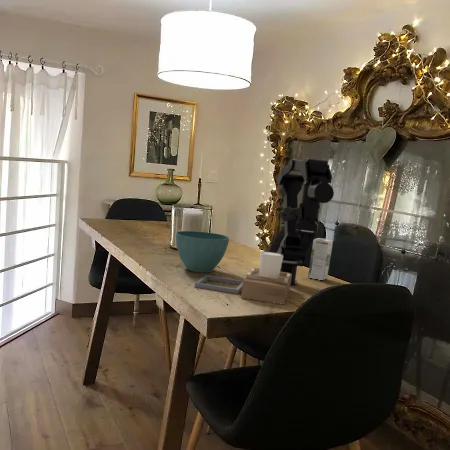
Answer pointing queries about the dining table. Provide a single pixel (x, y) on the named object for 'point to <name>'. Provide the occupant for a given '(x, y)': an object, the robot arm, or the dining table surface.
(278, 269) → the shot glass
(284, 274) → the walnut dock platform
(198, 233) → the teal round bowl
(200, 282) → the grey square frame
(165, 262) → the dining table surface
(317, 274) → the syrup box
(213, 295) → the dining table surface
